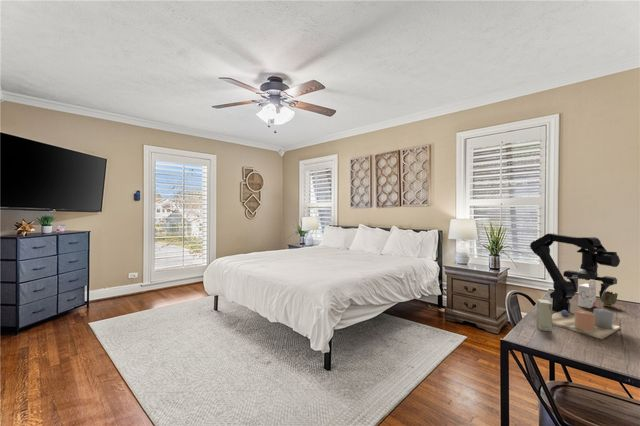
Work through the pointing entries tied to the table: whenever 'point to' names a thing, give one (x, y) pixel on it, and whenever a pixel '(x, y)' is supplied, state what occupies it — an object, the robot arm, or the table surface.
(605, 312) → the grey rounded piece
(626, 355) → the table surface
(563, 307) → the robot arm
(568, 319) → the birch board
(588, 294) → the ink cartridge box
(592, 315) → the peach domed cylinder
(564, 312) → the blue ellipsoid
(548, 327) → the skincare box
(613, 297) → the cup
